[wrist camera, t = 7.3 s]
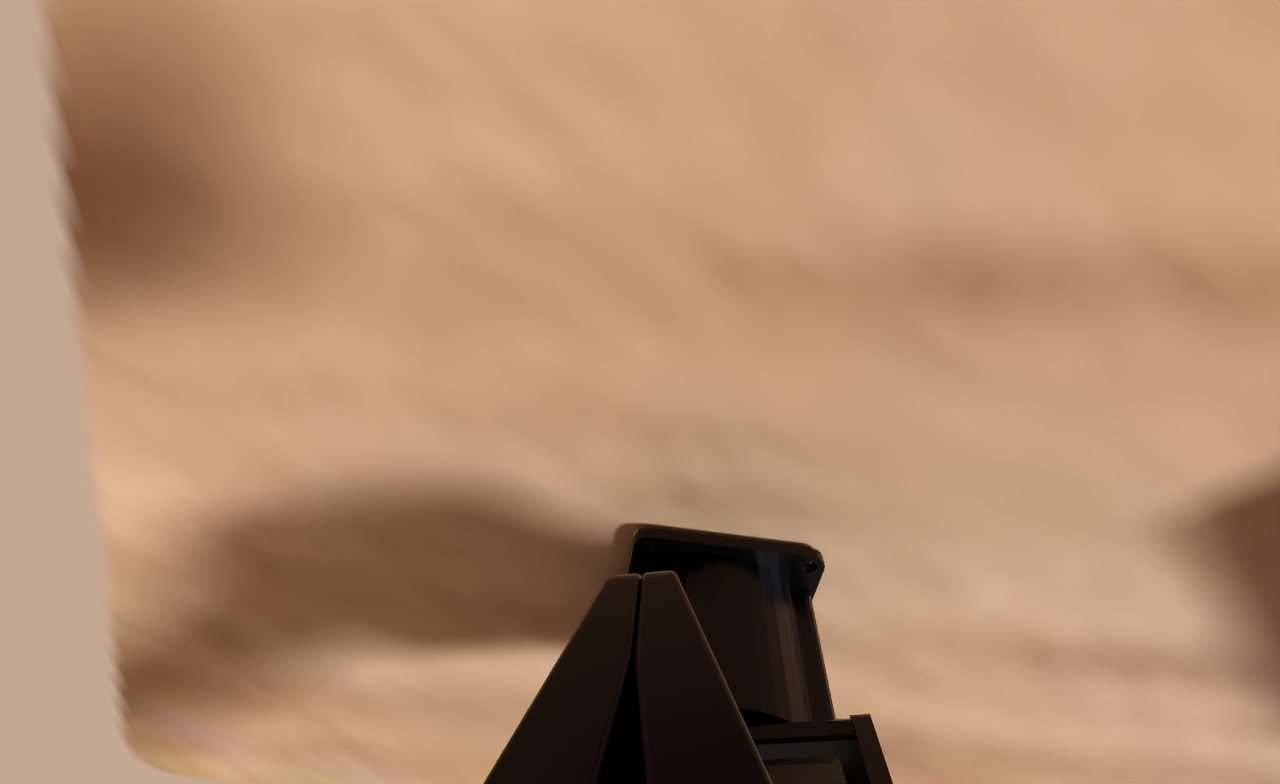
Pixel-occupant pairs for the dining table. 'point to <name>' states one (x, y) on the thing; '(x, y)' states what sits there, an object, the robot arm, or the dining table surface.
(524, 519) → the dining table surface
